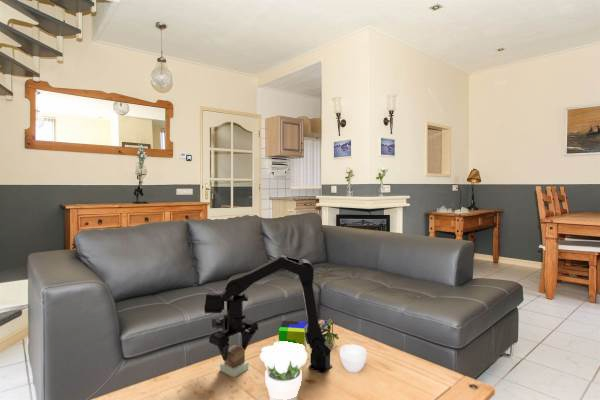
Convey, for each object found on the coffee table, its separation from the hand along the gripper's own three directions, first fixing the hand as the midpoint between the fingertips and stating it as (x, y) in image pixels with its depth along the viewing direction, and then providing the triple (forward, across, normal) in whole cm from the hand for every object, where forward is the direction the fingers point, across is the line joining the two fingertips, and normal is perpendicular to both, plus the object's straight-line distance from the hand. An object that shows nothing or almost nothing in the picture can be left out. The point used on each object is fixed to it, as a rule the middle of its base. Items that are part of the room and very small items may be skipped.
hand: (234, 355), depth 130 cm
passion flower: (+6, -40, +13) cm, 42 cm away
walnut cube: (+3, 0, 0) cm, 3 cm away
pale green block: (+5, 0, 0) cm, 5 cm away
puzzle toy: (+6, -25, +7) cm, 27 cm away
